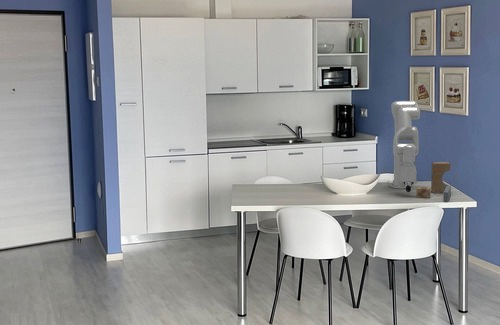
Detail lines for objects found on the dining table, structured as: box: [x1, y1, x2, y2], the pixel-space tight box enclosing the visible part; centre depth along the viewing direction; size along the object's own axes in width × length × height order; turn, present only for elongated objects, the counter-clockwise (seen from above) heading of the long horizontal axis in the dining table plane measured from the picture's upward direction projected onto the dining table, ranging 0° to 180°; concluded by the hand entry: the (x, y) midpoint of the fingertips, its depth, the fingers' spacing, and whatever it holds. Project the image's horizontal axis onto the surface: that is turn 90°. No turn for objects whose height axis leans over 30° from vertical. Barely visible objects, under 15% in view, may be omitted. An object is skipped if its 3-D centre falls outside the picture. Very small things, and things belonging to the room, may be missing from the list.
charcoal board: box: [442, 185, 452, 203], centre depth 445 cm, size 2×24×6 cm, turn 160°
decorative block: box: [430, 161, 451, 194], centre depth 463 cm, size 11×6×20 cm, turn 96°
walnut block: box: [415, 186, 431, 199], centre depth 450 cm, size 8×8×6 cm
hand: (408, 191), depth 453 cm, fingers closed
